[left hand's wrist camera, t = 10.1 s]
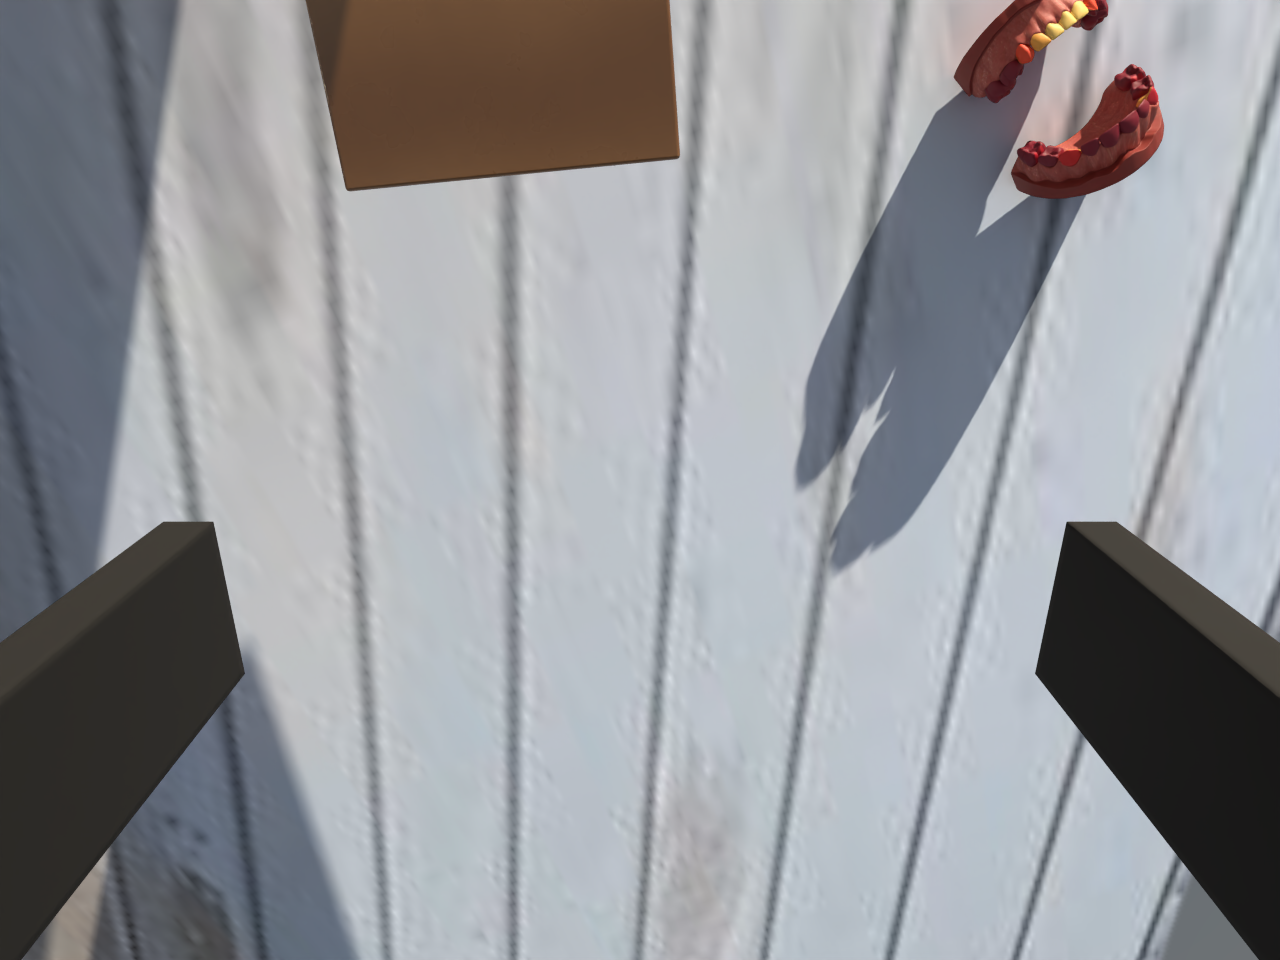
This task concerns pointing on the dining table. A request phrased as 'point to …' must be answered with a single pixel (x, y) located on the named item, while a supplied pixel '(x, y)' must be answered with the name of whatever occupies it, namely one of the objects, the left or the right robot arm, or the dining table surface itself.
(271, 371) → the dining table surface
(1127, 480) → the dining table surface
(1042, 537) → the dining table surface
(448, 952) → the dining table surface
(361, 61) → the box
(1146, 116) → the dental model
